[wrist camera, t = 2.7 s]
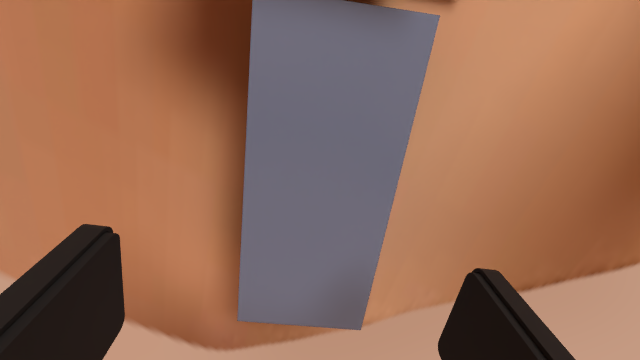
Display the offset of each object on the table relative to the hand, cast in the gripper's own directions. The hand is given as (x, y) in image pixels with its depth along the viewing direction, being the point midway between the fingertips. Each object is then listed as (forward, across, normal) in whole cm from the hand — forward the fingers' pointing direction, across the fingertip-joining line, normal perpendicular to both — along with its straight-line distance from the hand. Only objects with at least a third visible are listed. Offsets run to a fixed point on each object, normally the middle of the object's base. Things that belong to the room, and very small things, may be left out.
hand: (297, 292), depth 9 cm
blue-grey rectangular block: (+10, -1, -1) cm, 10 cm away
